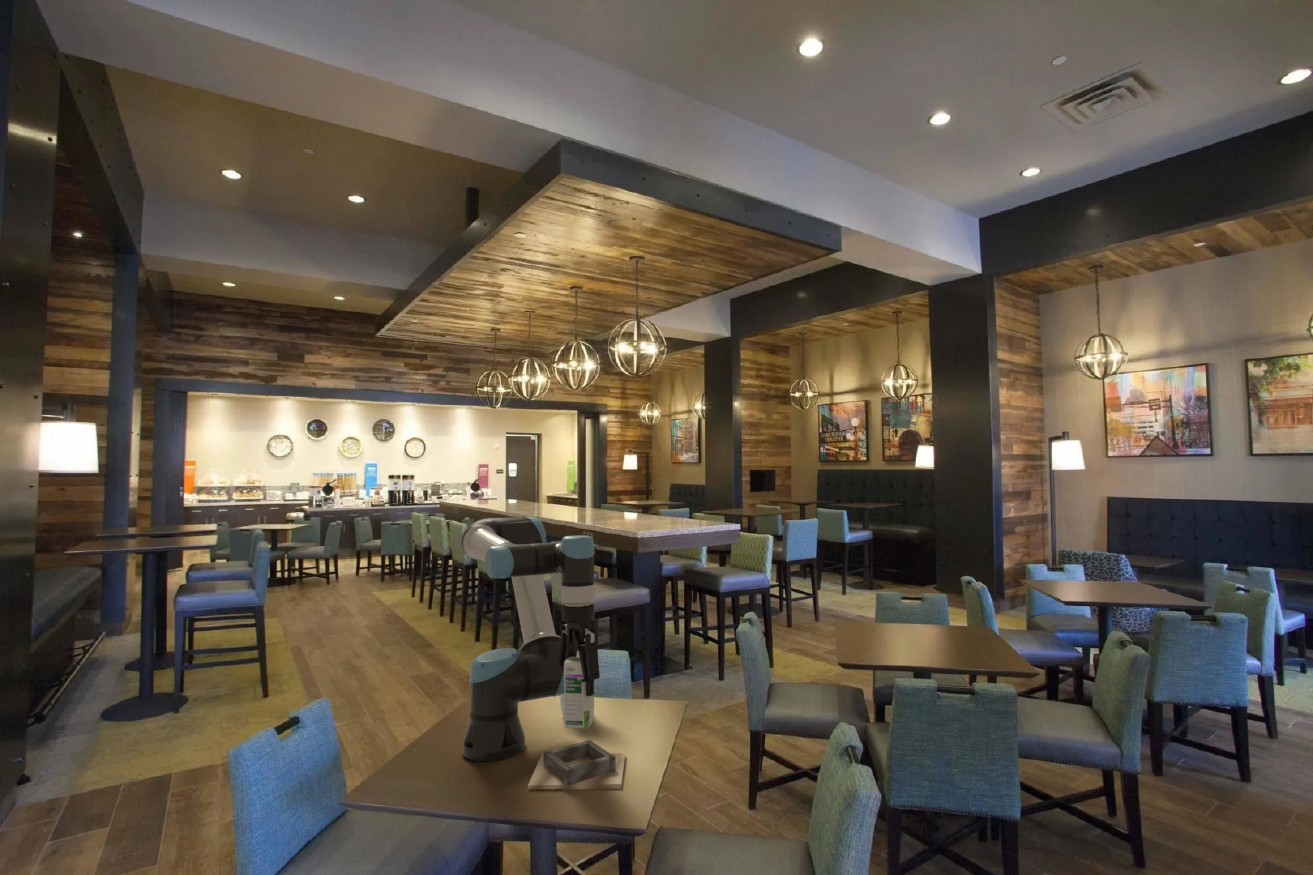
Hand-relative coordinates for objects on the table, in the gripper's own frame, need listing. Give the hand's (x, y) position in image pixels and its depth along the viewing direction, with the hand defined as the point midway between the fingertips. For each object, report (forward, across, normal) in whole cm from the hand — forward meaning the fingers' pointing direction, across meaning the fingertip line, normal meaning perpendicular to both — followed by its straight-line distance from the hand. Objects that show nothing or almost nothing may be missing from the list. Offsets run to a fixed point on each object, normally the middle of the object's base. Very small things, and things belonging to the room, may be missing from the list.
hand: (578, 704), depth 145 cm
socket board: (+15, 0, 0) cm, 15 cm away
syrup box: (+4, 0, 0) cm, 4 cm away
